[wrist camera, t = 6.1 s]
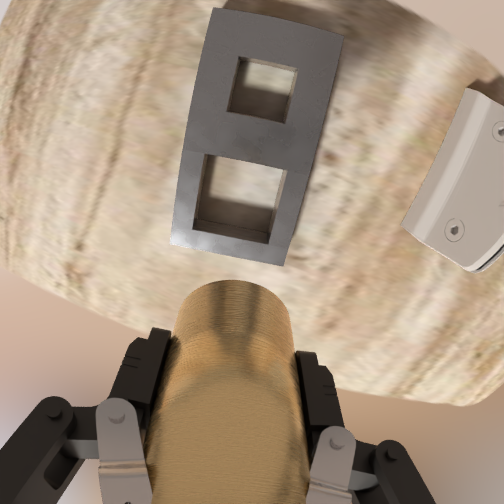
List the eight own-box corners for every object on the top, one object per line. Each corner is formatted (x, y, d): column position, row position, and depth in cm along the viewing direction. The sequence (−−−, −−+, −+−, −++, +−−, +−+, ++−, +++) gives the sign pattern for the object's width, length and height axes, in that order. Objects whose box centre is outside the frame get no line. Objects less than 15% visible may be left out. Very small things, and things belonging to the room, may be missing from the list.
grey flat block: (336, 41, 21) (344, 36, 19) (281, 253, 30) (283, 266, 28) (217, 15, 20) (213, 7, 18) (176, 232, 29) (169, 244, 27)
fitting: (304, 290, 13) (349, 510, 5) (274, 371, 15) (285, 544, 7) (182, 269, 12) (114, 492, 4) (175, 355, 15) (138, 530, 7)
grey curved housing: (466, 84, 22) (553, 116, 14) (485, 107, 24) (561, 142, 16) (398, 228, 29) (468, 291, 21) (422, 238, 31) (485, 295, 23)
